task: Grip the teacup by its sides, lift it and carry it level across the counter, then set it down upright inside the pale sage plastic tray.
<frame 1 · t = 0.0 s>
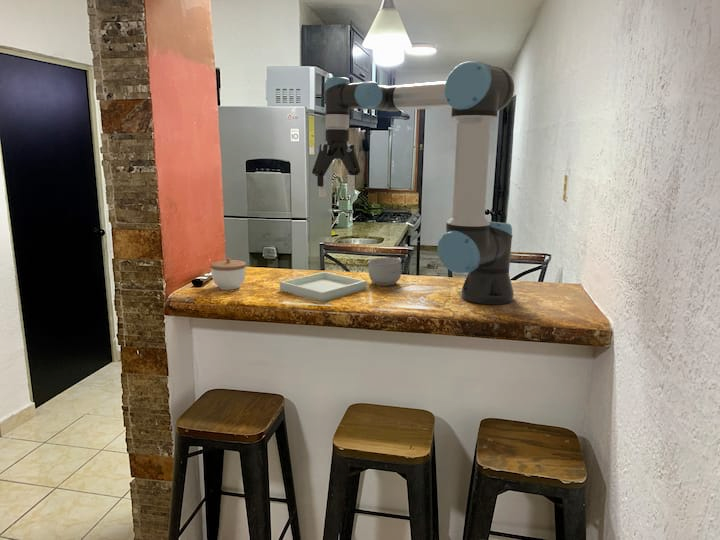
hand: (337, 195, 176), 28 cm above the counter, tool pointing down, fingers open, 13 cm apart
lidded jar: (229, 288, 169), on the counter
tray: (323, 290, 167), on the counter
teacup: (385, 283, 178), on the counter
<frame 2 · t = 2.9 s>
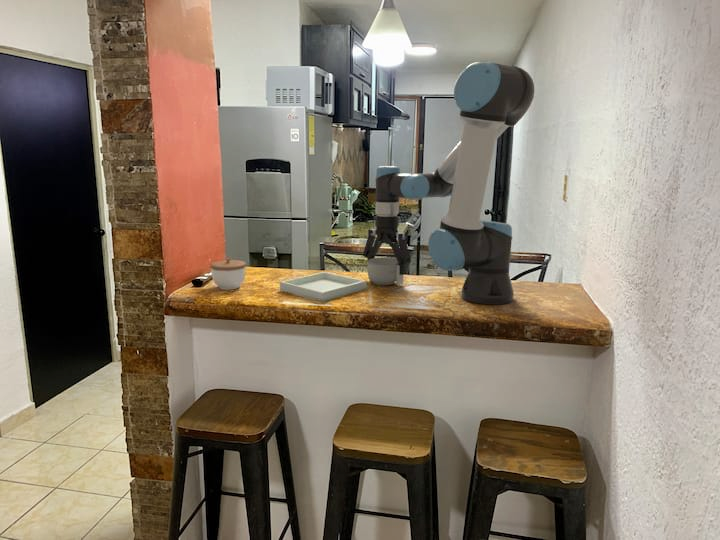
hand: (385, 281, 177), 0 cm above the counter, tool pointing down, fingers closed on teacup, 11 cm apart
teacup: (384, 282, 178), on the counter, touching gripper
everything else where it was.
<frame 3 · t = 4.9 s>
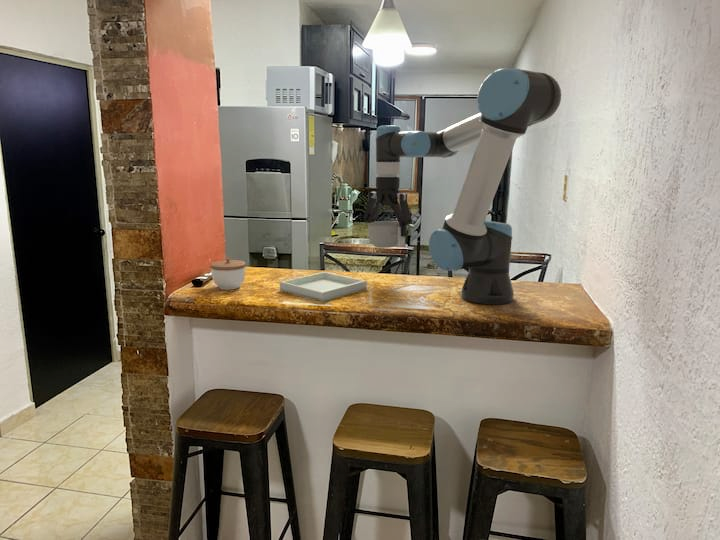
hand: (386, 244, 174), 13 cm above the counter, tool pointing down, fingers closed on teacup, 11 cm apart
teacup: (385, 246, 175), point 12 cm above the counter, touching gripper
everything else where it was.
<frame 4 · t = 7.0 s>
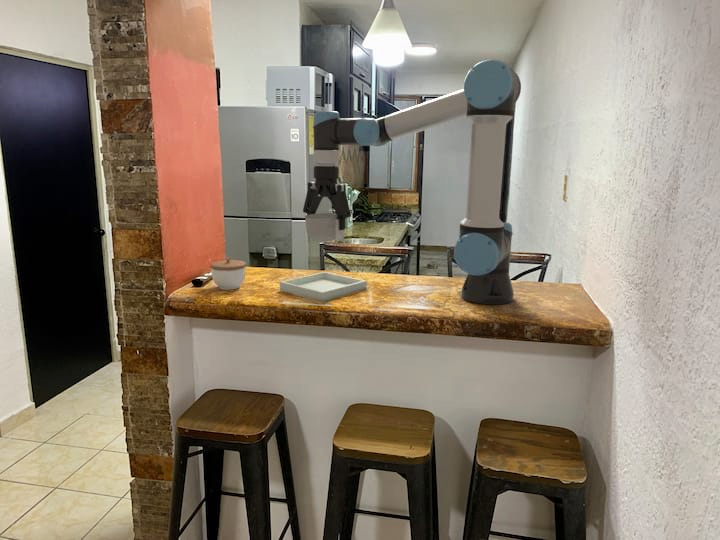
hand: (326, 238, 164), 16 cm above the counter, tool pointing down, fingers closed on teacup, 11 cm apart
teacup: (324, 240, 165), point 16 cm above the counter, touching gripper
everything else where it was.
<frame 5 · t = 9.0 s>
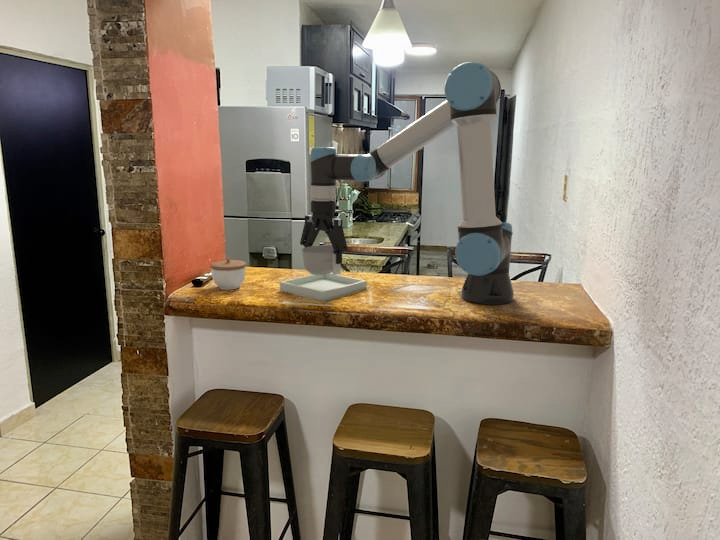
hand: (323, 271, 166), 6 cm above the counter, tool pointing down, fingers closed on teacup, 11 cm apart
teacup: (321, 272, 166), point 5 cm above the counter, touching gripper
everything else where it was.
when the fingers open (3 cm above the counter, at t = 10.7 s): teacup drops 1 cm, resting on tray.
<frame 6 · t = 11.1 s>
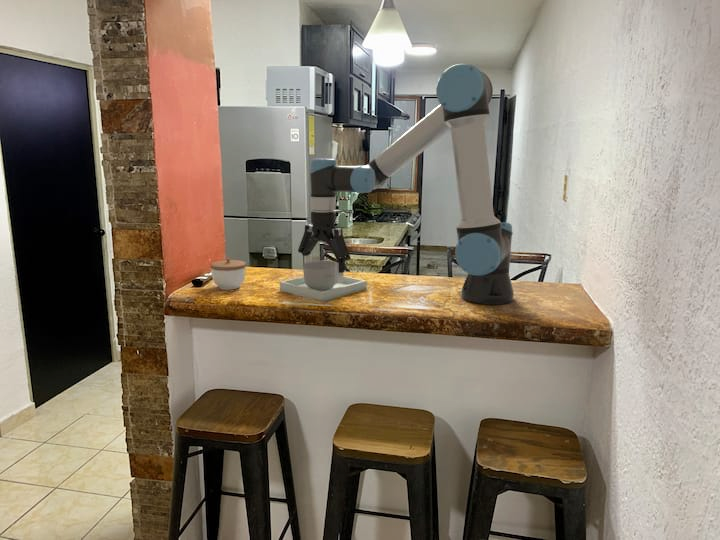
hand: (323, 279, 166), 4 cm above the counter, tool pointing down, fingers open, 13 cm apart
teacup: (322, 287, 167), point 1 cm above the counter, touching tray
everything else where it was.
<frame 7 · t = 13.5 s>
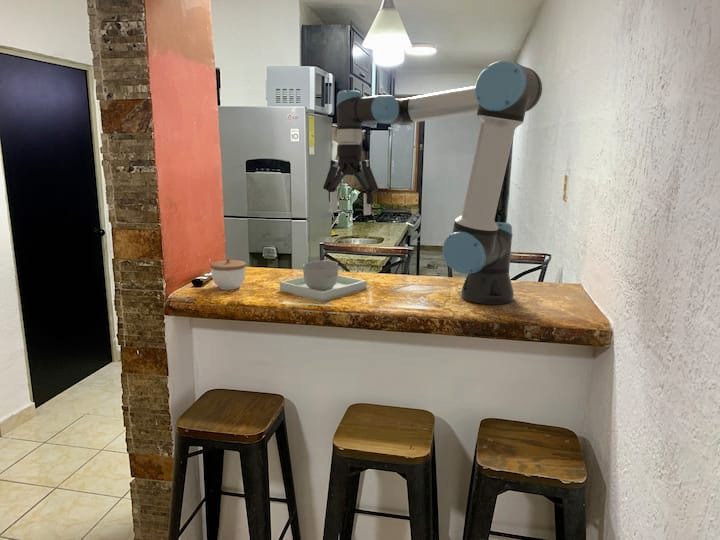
hand: (350, 213, 168), 23 cm above the counter, tool pointing down, fingers open, 13 cm apart
nothing on the counter moved.
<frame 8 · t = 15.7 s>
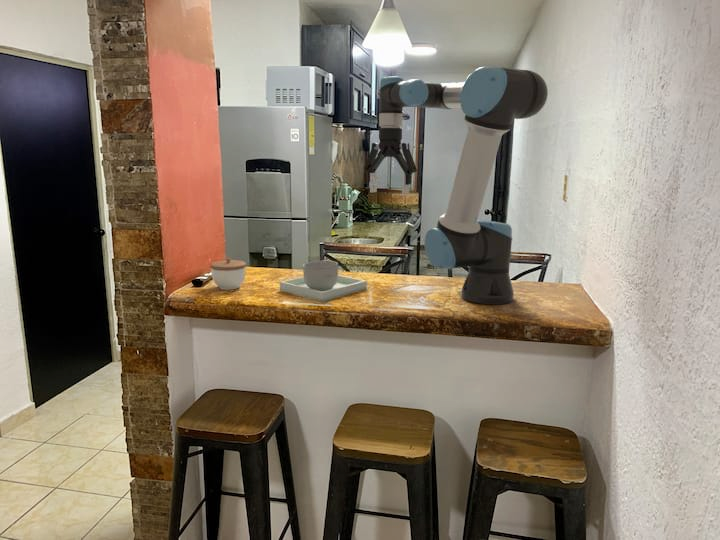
hand: (389, 193, 178), 29 cm above the counter, tool pointing down, fingers open, 13 cm apart
nothing on the counter moved.
at the end: teacup inside the target area on the tray (0.5 cm from its centre), point 0.6 cm above the tray's base; teacup tilted 0°; the gripper is holding nothing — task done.
